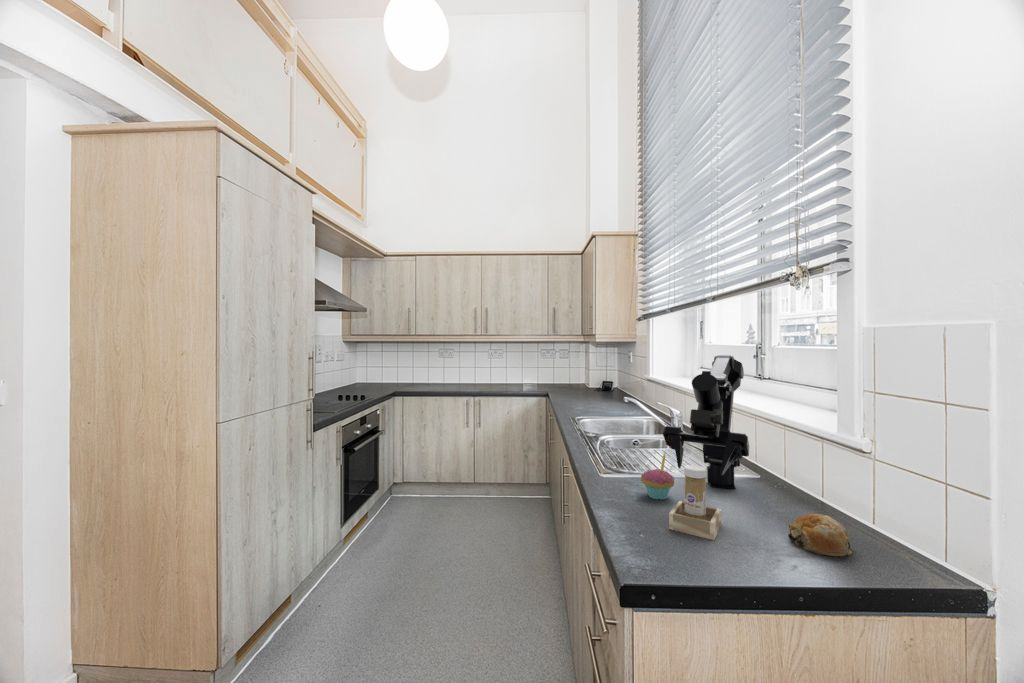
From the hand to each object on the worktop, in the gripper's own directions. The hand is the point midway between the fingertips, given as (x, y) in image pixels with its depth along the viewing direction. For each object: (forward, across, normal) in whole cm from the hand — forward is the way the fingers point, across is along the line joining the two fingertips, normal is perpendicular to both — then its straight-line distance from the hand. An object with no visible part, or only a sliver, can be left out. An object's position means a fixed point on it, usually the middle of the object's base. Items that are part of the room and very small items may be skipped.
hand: (699, 470), depth 99 cm
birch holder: (+11, 0, +5) cm, 12 cm away
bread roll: (+8, +22, +9) cm, 25 cm away
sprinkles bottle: (+11, 0, +5) cm, 12 cm away
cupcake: (+1, -12, +15) cm, 19 cm away
